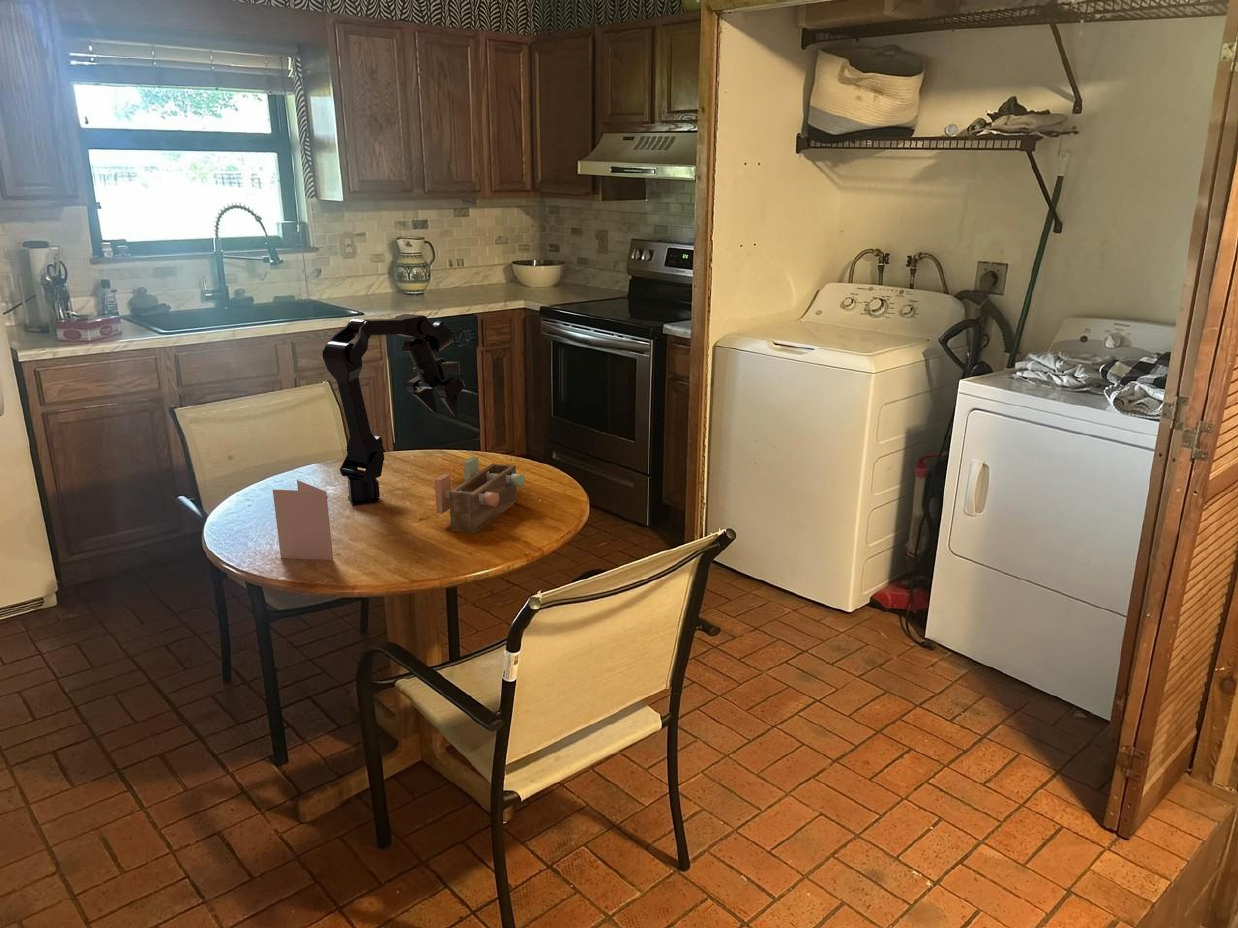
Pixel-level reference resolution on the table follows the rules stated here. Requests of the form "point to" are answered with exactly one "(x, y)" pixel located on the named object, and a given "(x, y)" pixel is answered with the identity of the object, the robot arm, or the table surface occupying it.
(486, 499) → the pink block with rod
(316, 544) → the greeting card
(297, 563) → the table surface
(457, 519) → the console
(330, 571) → the table surface
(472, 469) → the sage button
